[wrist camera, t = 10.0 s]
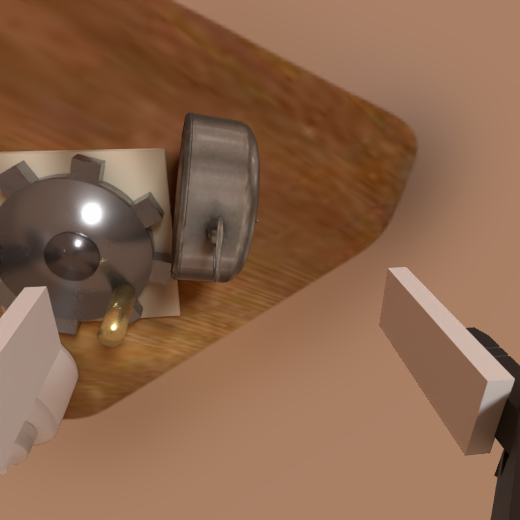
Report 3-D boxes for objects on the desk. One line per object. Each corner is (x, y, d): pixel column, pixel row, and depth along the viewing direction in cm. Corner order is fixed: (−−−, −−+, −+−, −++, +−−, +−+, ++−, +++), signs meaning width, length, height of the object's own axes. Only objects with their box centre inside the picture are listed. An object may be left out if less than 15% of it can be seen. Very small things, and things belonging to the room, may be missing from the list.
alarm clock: (185, 102, 32) (171, 137, 17) (255, 114, 33) (298, 158, 18) (171, 235, 36) (151, 354, 21) (233, 243, 37) (254, 361, 22)
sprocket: (154, 336, 39) (143, 396, 32) (-26, 306, 35) (-81, 366, 28) (190, 182, 33) (188, 214, 26) (-19, 128, 30) (-87, 149, 23)
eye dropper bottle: (79, 337, 39) (33, 442, 28) (79, 384, 41) (36, 497, 31) (29, 334, 38) (-38, 440, 28) (31, 381, 41) (-30, 497, 30)
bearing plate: (11, 322, 38) (6, 327, 37) (-41, 152, 31) (-47, 155, 30) (180, 310, 39) (180, 316, 38) (165, 148, 33) (164, 150, 32)
